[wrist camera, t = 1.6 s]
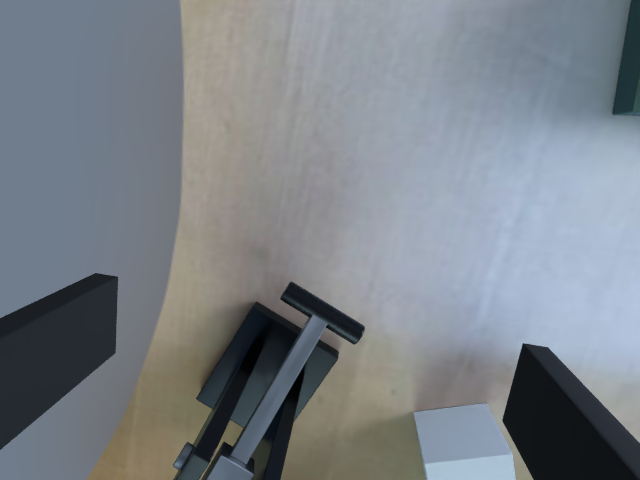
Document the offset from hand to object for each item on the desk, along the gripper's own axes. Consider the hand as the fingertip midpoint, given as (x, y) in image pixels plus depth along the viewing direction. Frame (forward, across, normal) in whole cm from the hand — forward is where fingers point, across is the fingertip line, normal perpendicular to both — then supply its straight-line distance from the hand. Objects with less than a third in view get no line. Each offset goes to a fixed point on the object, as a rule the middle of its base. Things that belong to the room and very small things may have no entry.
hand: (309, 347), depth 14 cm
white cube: (+20, +12, -16) cm, 29 cm away
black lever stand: (+20, -4, -13) cm, 24 cm away
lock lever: (+11, -2, -9) cm, 15 cm away
